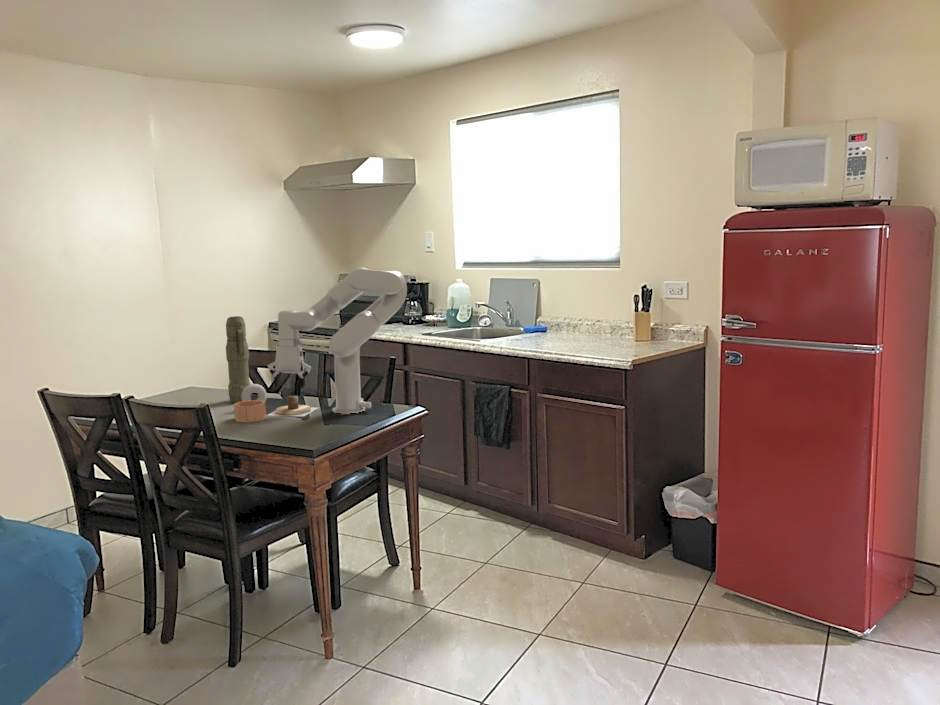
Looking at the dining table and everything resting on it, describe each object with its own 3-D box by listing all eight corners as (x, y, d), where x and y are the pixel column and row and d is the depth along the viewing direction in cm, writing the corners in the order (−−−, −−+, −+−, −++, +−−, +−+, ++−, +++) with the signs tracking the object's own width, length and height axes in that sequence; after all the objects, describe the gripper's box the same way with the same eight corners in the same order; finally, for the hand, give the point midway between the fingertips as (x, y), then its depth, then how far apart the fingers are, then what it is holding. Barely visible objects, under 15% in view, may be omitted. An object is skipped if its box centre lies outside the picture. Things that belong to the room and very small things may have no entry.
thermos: (236, 404, 299) (231, 318, 294) (224, 400, 308) (218, 316, 303) (257, 401, 305) (251, 317, 300) (244, 397, 314) (239, 315, 309)
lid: (315, 408, 289) (315, 393, 288) (302, 415, 277) (301, 400, 276) (284, 407, 292) (284, 393, 291) (269, 414, 279) (269, 399, 278)
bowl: (271, 416, 278) (270, 400, 277) (257, 423, 267) (256, 407, 266) (244, 415, 280) (243, 399, 279) (229, 422, 269) (228, 406, 268)
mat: (319, 408, 290) (319, 407, 290) (303, 417, 275) (303, 416, 275) (283, 407, 293) (283, 406, 293) (266, 416, 278) (266, 415, 278)
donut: (243, 411, 287) (242, 386, 286) (240, 409, 290) (239, 384, 289) (268, 407, 293) (267, 382, 291) (265, 406, 296) (264, 381, 294)
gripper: (314, 342, 282) (314, 386, 285) (272, 340, 285) (273, 384, 288) (306, 345, 275) (307, 390, 277) (263, 343, 278) (264, 388, 281)
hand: (289, 387), depth 283 cm, fingers open, 9 cm apart
